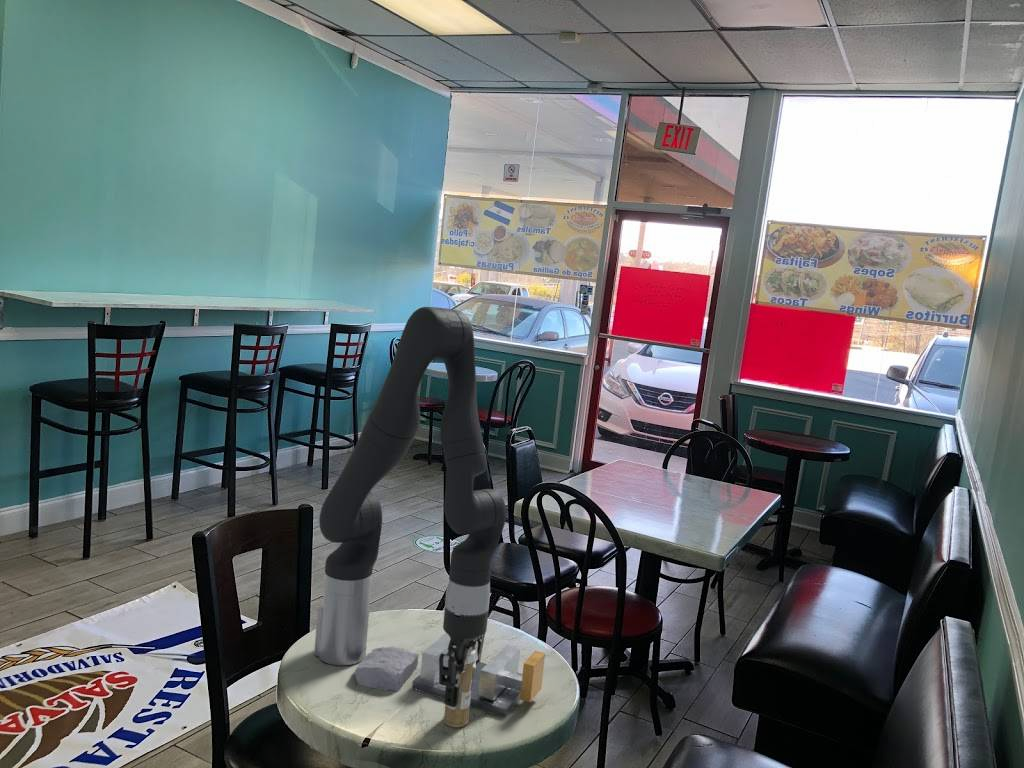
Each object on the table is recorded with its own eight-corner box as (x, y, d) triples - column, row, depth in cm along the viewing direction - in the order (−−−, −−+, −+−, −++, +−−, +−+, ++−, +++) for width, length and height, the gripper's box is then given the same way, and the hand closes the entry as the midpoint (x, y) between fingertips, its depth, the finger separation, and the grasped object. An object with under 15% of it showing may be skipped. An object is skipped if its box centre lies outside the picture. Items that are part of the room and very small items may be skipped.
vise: (411, 688, 152) (415, 652, 151) (445, 659, 165) (448, 626, 164) (505, 717, 145) (509, 680, 144) (532, 684, 158) (536, 650, 157)
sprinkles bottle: (471, 727, 140) (478, 653, 139) (445, 729, 139) (452, 654, 137) (465, 713, 145) (472, 642, 143) (440, 715, 143) (447, 642, 142)
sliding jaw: (478, 696, 148) (481, 659, 147) (503, 669, 159) (506, 635, 158) (524, 709, 144) (528, 672, 144) (546, 682, 155) (550, 647, 155)
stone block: (351, 693, 151) (401, 693, 149) (348, 668, 151) (399, 668, 149) (374, 668, 163) (422, 668, 161) (372, 644, 163) (419, 644, 161)
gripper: (465, 586, 147) (456, 675, 149) (428, 613, 134) (419, 710, 136) (503, 596, 144) (493, 686, 146) (469, 624, 131) (459, 723, 133)
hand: (458, 697), depth 141 cm, fingers open, 5 cm apart
